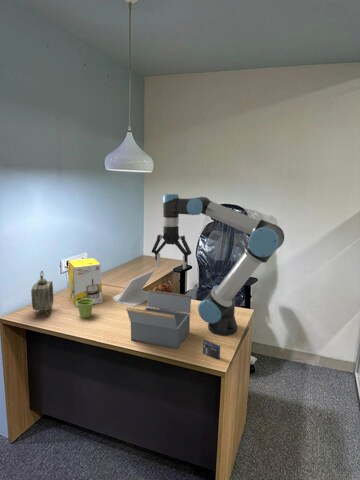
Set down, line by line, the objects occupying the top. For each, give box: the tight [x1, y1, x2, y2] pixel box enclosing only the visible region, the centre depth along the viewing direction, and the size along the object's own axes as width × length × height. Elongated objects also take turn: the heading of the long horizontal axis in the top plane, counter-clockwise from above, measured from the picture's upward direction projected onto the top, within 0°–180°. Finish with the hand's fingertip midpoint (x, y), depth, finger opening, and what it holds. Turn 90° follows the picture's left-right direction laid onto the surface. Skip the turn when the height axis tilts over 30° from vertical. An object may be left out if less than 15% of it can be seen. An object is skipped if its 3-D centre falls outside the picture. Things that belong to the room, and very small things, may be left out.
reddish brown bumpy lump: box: [152, 283, 172, 293], centre depth 197 cm, size 15×8×15 cm, turn 141°
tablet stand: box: [112, 269, 155, 308], centre depth 215 cm, size 18×25×17 cm
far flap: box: [146, 289, 193, 314], centre depth 172 cm, size 24×9×1 cm
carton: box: [130, 306, 191, 350], centre depth 164 cm, size 24×18×10 cm
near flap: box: [125, 306, 177, 330], centre depth 152 cm, size 24×9×1 cm
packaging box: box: [67, 257, 103, 308], centre depth 208 cm, size 16×16×25 cm
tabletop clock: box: [30, 270, 54, 317], centre depth 189 cm, size 14×9×25 cm, turn 12°
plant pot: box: [77, 299, 94, 319], centre depth 187 cm, size 9×9×9 cm
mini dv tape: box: [202, 340, 221, 360], centre depth 147 cm, size 8×2×6 cm, turn 51°
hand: (171, 267), depth 167 cm, fingers open, 13 cm apart
